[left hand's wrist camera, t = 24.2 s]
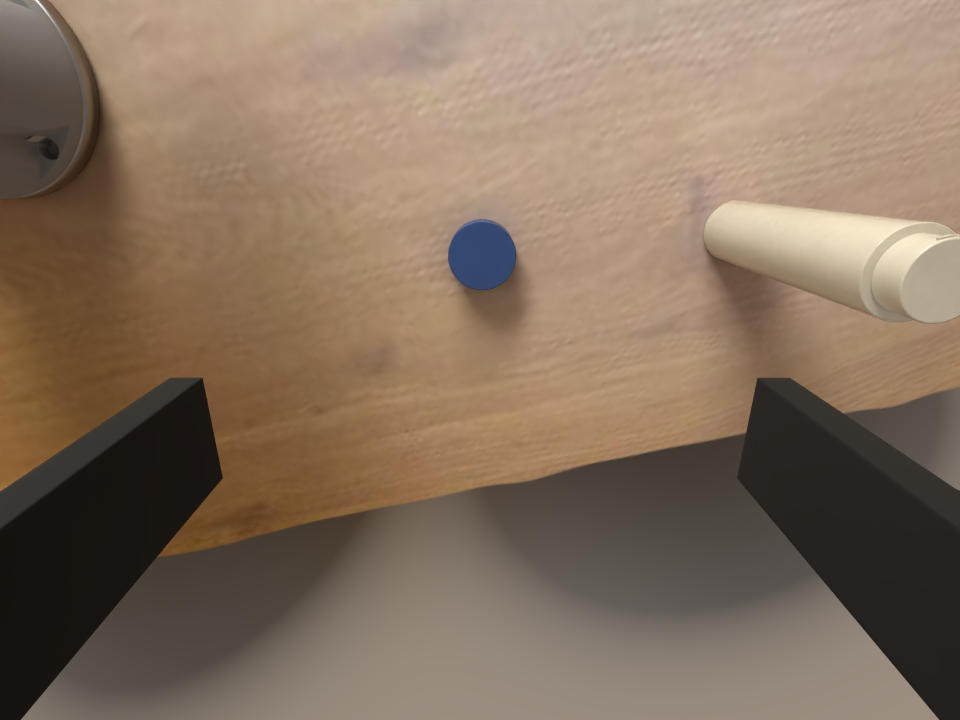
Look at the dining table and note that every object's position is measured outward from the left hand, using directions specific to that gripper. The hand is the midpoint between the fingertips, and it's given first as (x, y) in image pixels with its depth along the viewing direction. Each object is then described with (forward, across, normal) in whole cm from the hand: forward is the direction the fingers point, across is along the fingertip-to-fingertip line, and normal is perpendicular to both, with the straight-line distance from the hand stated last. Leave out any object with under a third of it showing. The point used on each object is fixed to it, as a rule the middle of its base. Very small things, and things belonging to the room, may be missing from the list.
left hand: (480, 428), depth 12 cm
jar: (+30, +20, +1) cm, 36 cm away
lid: (+28, 0, 0) cm, 28 cm away
